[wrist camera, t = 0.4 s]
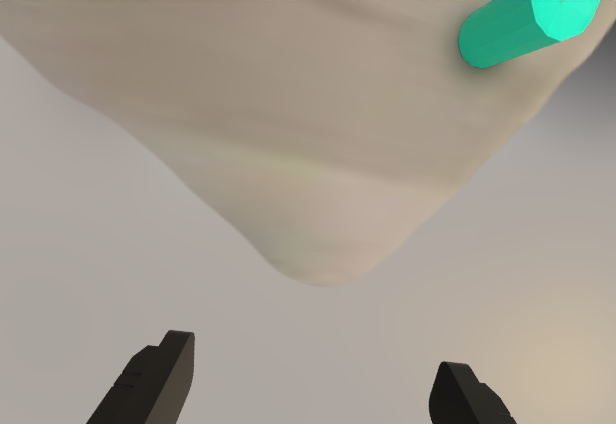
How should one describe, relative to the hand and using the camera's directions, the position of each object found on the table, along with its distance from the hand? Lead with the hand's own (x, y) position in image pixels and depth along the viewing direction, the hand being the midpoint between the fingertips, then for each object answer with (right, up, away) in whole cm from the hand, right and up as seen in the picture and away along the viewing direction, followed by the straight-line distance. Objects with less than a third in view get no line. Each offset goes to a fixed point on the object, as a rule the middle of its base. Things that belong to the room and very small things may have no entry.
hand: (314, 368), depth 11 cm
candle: (+19, +24, +26) cm, 40 cm away
